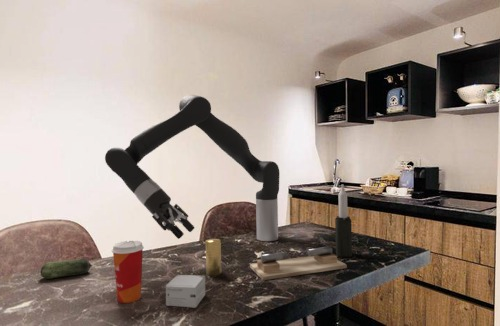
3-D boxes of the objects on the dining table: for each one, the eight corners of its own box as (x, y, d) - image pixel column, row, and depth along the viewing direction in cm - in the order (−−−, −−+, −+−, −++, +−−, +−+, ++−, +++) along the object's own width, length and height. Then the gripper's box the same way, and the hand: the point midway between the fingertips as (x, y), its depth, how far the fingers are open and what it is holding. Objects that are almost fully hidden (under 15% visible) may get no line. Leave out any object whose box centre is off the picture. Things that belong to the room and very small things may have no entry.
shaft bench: (249, 267, 105) (249, 257, 105) (326, 256, 114) (326, 248, 114) (262, 280, 94) (262, 269, 93) (346, 267, 102) (346, 258, 102)
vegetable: (39, 283, 96) (38, 266, 96) (42, 277, 100) (41, 261, 100) (91, 275, 101) (91, 259, 101) (92, 270, 106) (92, 254, 106)
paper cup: (118, 292, 87) (117, 240, 87) (148, 291, 88) (146, 239, 87) (108, 306, 79) (106, 249, 79) (140, 304, 80) (139, 247, 80)
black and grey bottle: (349, 252, 118) (348, 183, 118) (352, 256, 113) (351, 184, 112) (335, 252, 119) (334, 183, 118) (337, 256, 114) (336, 185, 113)
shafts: (260, 261, 101) (260, 253, 101) (328, 252, 108) (328, 245, 108) (263, 263, 99) (263, 256, 99) (332, 254, 106) (332, 247, 106)
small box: (165, 306, 79) (164, 285, 79) (178, 293, 87) (177, 273, 86) (196, 308, 77) (195, 287, 77) (206, 294, 85) (205, 275, 85)
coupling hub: (205, 271, 102) (204, 239, 102) (219, 269, 103) (218, 238, 103) (207, 276, 97) (207, 243, 97) (222, 274, 99) (222, 241, 99)
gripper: (148, 190, 97) (185, 230, 94) (170, 186, 110) (203, 220, 108) (132, 208, 98) (169, 247, 96) (156, 201, 112) (188, 235, 110)
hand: (187, 233), depth 102 cm, fingers open, 8 cm apart
